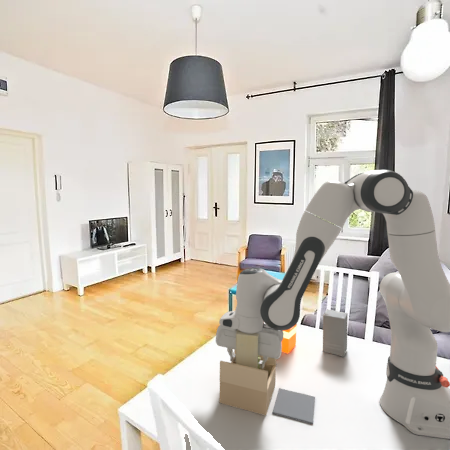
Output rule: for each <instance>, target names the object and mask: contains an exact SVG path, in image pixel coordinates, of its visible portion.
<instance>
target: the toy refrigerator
mask: <svg viewBox="0 0 450 450" xmlns="http://www.w3.org/2000/svg"><path fill="white" fill-rule="evenodd" d="M258 337H259V334H258V333H254V334H246V333H242V332H241V331H239V330H237V333H236V364H238V365H243V366H247V367H252V368H256V369H260V368H259V362H260V360H261V357H259V355H258Z"/></svg>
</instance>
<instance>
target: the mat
mask: <svg viewBox="0 0 450 450" xmlns="http://www.w3.org/2000/svg"><path fill="white" fill-rule="evenodd" d="M315 403H316V396H314V395H310V394H309V395H308V394H305V393H300V392H297V391H292V390H290V389H284V388H281V387H279V388H278V390H277V394H276V398H275V401H274V405H273V409H272V414H273V415H277V416H281V417H285V418H289V419H291V420H295V421H299V422H303V423H307V424H310V425H313V424H314V418H315V416H314V414H315Z"/></svg>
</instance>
